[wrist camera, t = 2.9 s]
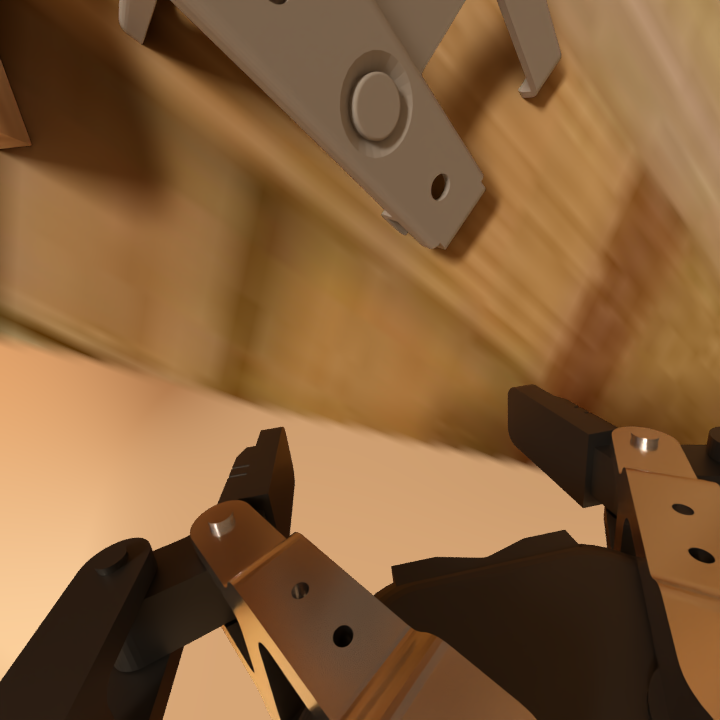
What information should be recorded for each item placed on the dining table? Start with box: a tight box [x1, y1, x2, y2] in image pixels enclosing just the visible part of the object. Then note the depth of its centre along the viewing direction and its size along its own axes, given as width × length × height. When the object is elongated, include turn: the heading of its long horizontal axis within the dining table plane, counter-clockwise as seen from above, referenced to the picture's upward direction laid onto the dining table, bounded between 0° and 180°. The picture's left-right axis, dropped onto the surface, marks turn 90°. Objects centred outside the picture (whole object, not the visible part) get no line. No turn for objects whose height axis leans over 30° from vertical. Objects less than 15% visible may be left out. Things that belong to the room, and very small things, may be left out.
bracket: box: [119, 0, 561, 250], centre depth 15 cm, size 10×14×10 cm
